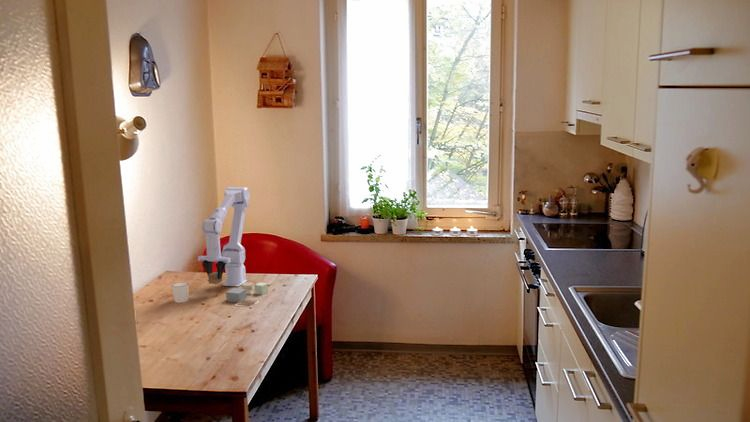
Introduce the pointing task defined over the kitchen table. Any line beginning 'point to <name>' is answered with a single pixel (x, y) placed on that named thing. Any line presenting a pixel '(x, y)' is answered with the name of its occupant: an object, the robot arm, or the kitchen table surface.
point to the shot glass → (181, 292)
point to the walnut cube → (214, 278)
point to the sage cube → (261, 288)
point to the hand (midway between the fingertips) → (215, 278)
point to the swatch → (247, 303)
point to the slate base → (236, 295)
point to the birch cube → (248, 287)
